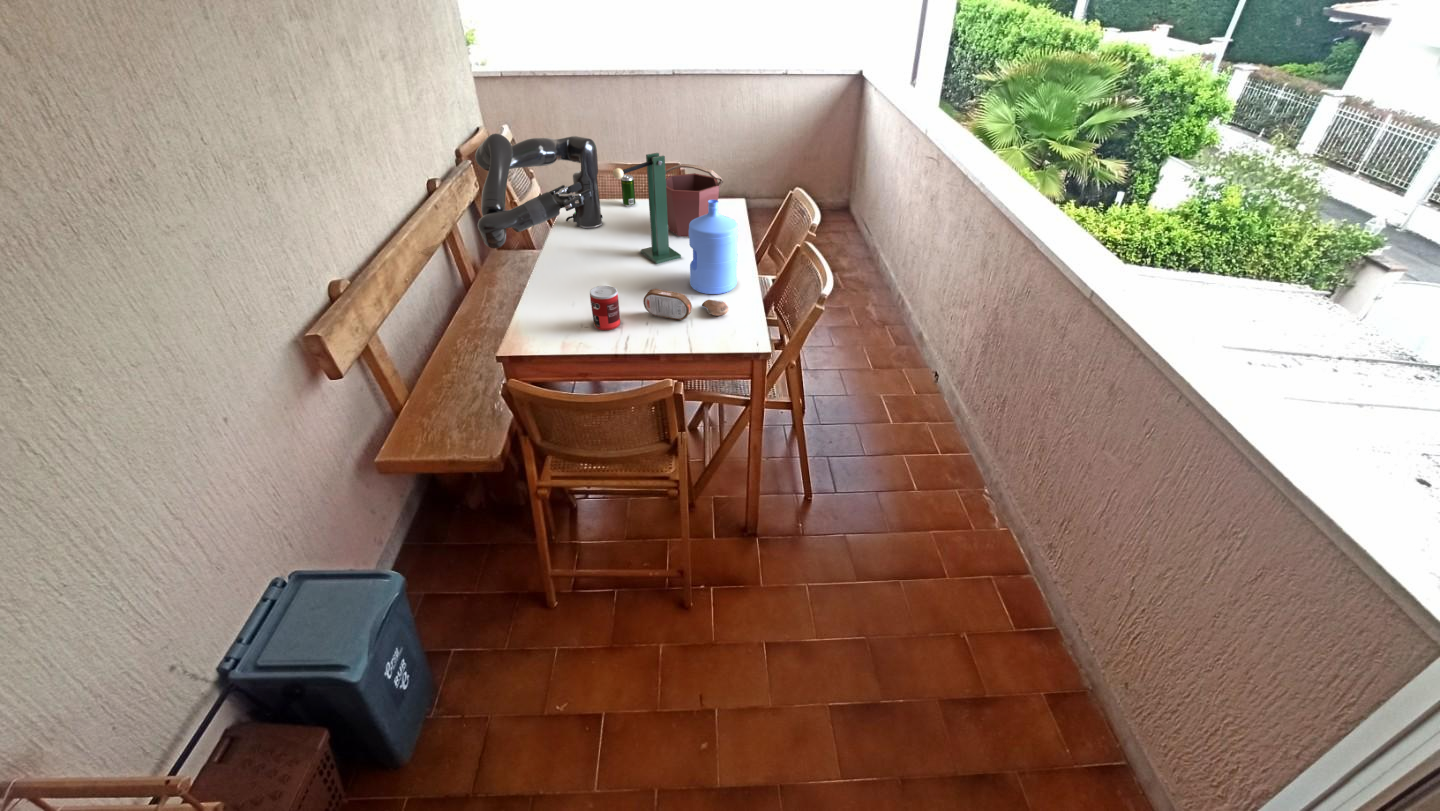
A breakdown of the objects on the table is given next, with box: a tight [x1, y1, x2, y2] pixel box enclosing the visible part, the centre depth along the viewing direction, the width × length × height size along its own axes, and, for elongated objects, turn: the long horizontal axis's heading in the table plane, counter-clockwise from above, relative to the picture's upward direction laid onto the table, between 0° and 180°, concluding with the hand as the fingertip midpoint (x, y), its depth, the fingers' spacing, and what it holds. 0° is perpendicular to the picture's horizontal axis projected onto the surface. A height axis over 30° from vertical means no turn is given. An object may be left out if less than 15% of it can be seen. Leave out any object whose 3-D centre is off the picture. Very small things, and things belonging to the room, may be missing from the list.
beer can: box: [620, 174, 636, 208], centre depth 273 cm, size 5×5×12 cm
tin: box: [642, 288, 693, 321], centre depth 193 cm, size 15×3×8 cm, turn 71°
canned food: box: [589, 285, 621, 331], centre depth 189 cm, size 8×8×11 cm
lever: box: [612, 156, 657, 180], centre depth 210 cm, size 17×3×3 cm, turn 123°
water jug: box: [688, 199, 739, 295], centre depth 206 cm, size 16×16×28 cm
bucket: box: [665, 163, 724, 238], centre depth 246 cm, size 24×22×25 cm
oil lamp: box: [701, 299, 729, 317], centre depth 198 cm, size 9×4×8 cm
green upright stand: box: [640, 152, 682, 265], centre depth 222 cm, size 10×12×35 cm
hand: (586, 188), depth 205 cm, fingers open, 8 cm apart
